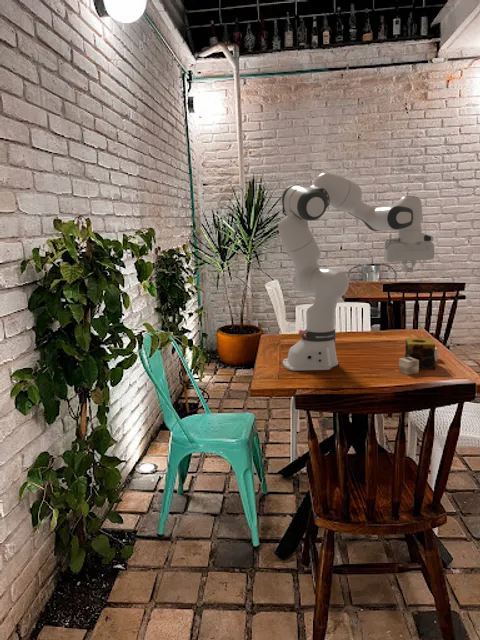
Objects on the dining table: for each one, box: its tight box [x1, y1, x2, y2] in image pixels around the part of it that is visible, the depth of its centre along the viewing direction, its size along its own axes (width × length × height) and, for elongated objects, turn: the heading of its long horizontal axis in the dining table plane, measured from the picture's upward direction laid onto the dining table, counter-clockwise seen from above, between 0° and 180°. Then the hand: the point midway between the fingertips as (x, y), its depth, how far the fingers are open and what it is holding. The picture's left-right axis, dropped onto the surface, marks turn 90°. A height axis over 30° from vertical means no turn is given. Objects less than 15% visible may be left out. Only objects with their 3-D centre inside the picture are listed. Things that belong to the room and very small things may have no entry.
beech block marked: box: [398, 357, 420, 376], centre depth 179 cm, size 5×5×5 cm
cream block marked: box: [434, 346, 439, 362], centre depth 194 cm, size 5×5×5 cm
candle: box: [404, 337, 436, 370], centre depth 186 cm, size 10×10×10 cm
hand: (408, 272), depth 194 cm, fingers closed
